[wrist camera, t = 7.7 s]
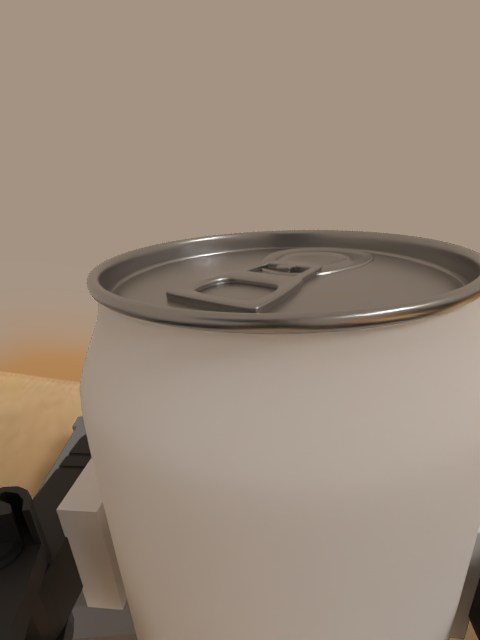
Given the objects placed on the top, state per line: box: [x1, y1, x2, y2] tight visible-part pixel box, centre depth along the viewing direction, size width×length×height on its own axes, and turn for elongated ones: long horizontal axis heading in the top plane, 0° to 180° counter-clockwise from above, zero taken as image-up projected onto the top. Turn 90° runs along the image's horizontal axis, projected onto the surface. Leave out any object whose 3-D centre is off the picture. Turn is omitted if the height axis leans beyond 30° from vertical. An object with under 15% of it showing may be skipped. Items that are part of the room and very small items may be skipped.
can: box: [80, 230, 480, 640], centre depth 8 cm, size 6×6×12 cm
